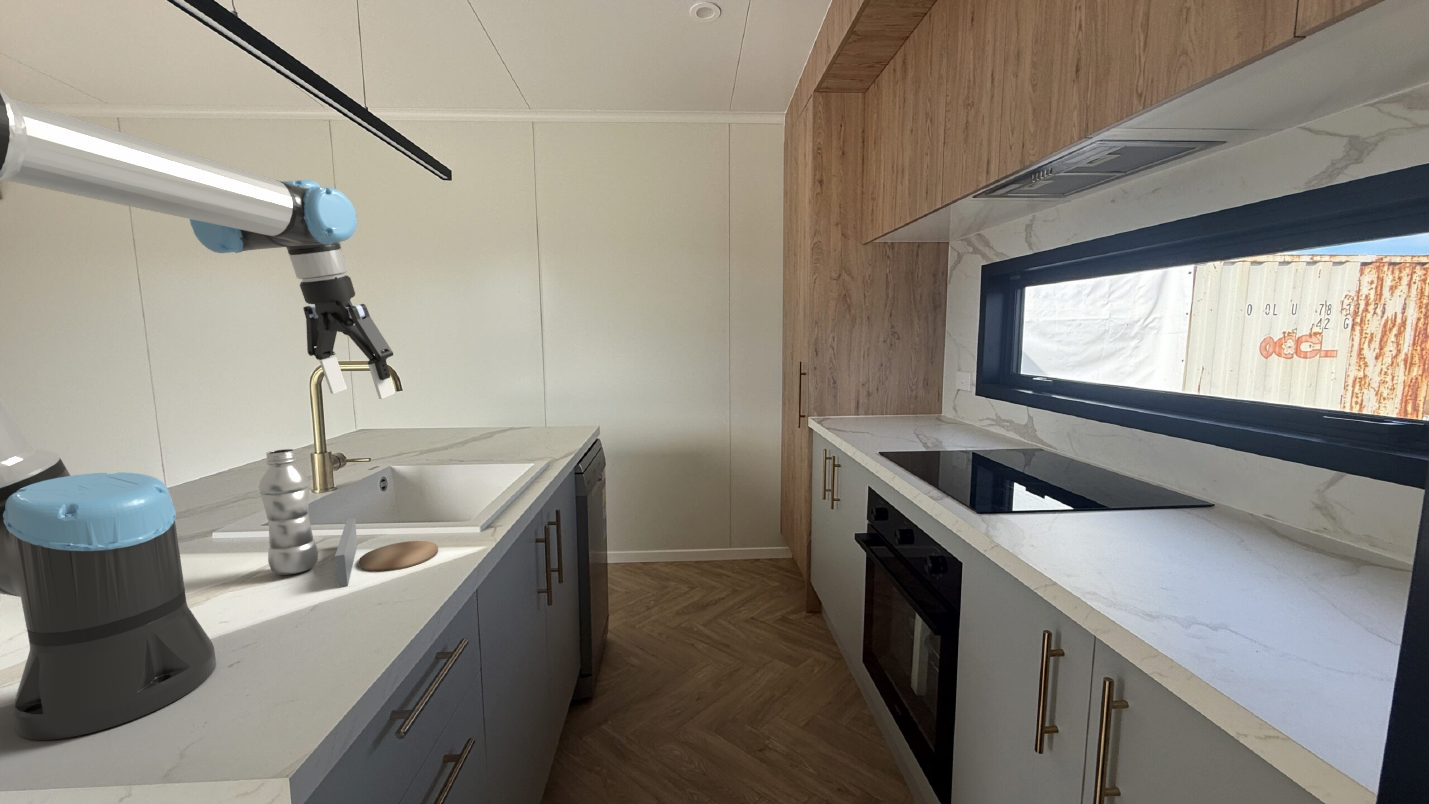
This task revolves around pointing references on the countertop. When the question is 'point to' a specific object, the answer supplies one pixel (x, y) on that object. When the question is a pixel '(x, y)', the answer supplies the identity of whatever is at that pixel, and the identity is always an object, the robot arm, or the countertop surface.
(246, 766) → the countertop surface
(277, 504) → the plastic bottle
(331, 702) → the countertop surface
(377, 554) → the walnut coaster
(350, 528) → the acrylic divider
